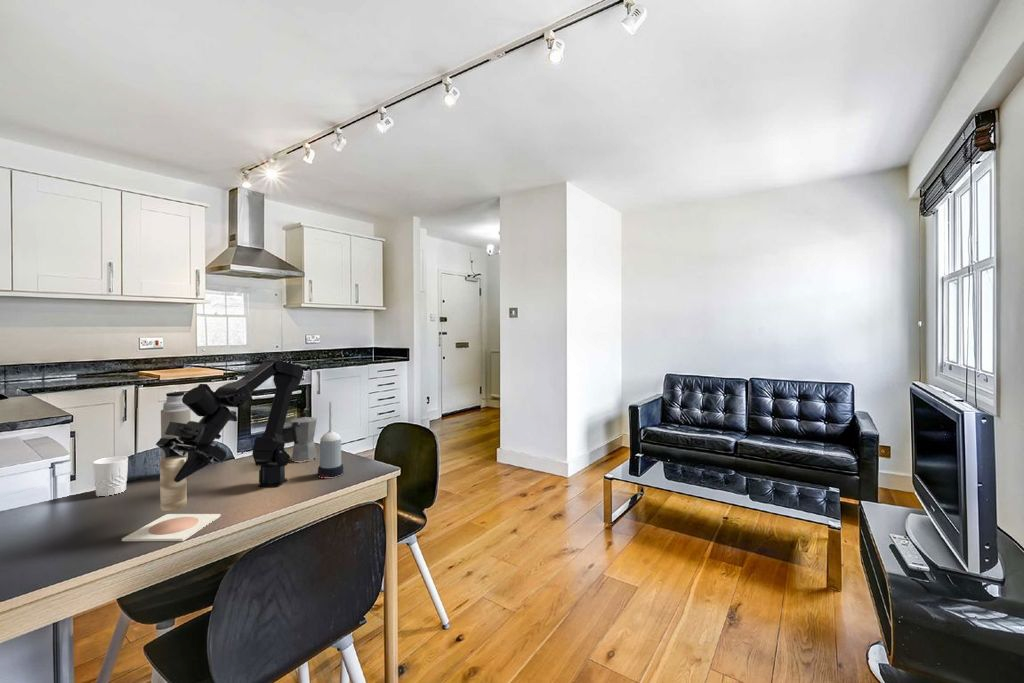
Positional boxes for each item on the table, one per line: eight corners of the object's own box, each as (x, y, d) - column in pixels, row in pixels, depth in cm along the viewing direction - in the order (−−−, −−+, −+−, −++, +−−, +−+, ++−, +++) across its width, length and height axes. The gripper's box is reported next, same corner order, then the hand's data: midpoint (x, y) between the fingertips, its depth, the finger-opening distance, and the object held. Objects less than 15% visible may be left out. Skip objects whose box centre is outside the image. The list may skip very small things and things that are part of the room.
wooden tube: (189, 501, 115) (188, 454, 115) (183, 508, 110) (183, 460, 110) (164, 504, 113) (163, 457, 113) (157, 512, 108) (156, 462, 108)
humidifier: (319, 480, 148) (319, 404, 147) (316, 473, 155) (316, 400, 154) (345, 476, 152) (345, 402, 151) (341, 469, 159) (341, 399, 158)
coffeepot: (300, 454, 178) (299, 409, 177) (323, 454, 177) (323, 409, 177) (279, 466, 162) (279, 416, 162) (305, 466, 162) (305, 416, 162)
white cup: (107, 488, 139) (107, 456, 138) (135, 487, 139) (134, 455, 139) (85, 498, 131) (85, 464, 131) (114, 497, 131) (114, 463, 131)
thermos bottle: (184, 470, 157) (183, 390, 156) (195, 474, 153) (194, 392, 152) (157, 476, 150) (156, 392, 149) (167, 480, 146) (166, 394, 145)
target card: (220, 516, 119) (220, 513, 119) (182, 541, 105) (182, 538, 105) (166, 516, 119) (166, 513, 119) (121, 541, 105) (121, 538, 105)
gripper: (163, 406, 118) (115, 459, 108) (215, 411, 112) (169, 468, 102) (193, 429, 125) (151, 481, 115) (243, 435, 119) (203, 490, 109)
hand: (167, 480), depth 110 cm, fingers closed on wooden tube, 5 cm apart
